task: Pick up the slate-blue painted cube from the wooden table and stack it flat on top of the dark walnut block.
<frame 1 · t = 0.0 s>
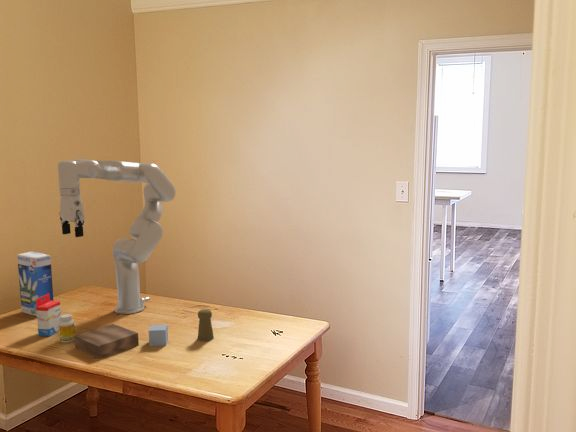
hand: (72, 235, 226), 37 cm above the table, tool pointing down, fingers open, 9 cm apart
supplement bottle: (67, 340, 214), on the table
walnut block: (107, 347, 208), on the table
ink box: (50, 333, 222), on the table
blue cube: (158, 343, 210), on the table
cork: (205, 338, 214), on the table
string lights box: (38, 312, 247), on the table
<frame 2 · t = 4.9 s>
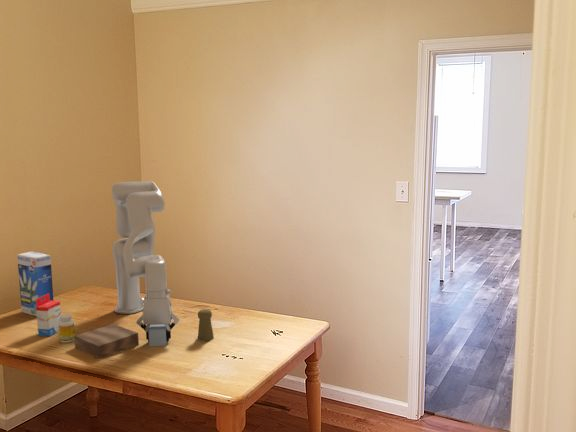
hand: (158, 340, 210), 1 cm above the table, tool pointing down, fingers closed on blue cube, 6 cm apart
blue cube: (158, 342, 210), on the table, touching gripper
everything else where it was.
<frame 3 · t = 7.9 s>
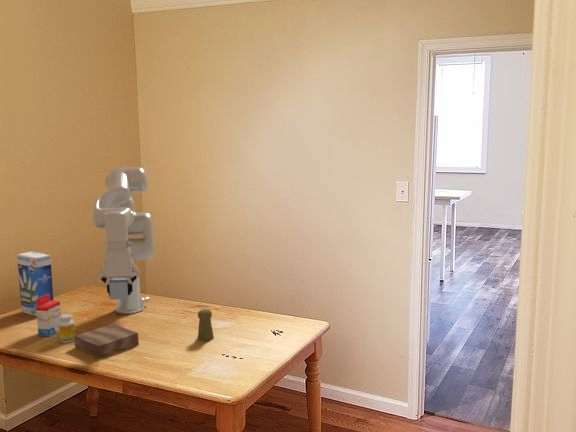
hand: (120, 293, 205), 19 cm above the table, tool pointing down, fingers closed on blue cube, 6 cm apart
blue cube: (120, 296, 206), point 18 cm above the table, touching gripper
everything else where it was.
when the fingers open (7 cm above the table, at t = 11.3 s): blue cube drops 1 cm, point 5 cm above the table.
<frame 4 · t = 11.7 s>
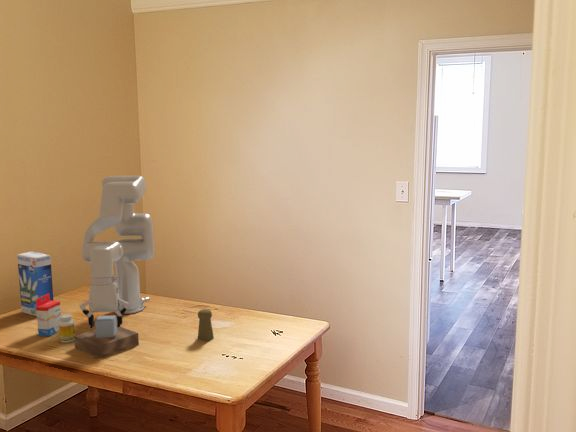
hand: (105, 326, 206), 8 cm above the table, tool pointing down, fingers open, 9 cm apart
blue cube: (106, 334, 207), point 5 cm above the table
everything else where it was.
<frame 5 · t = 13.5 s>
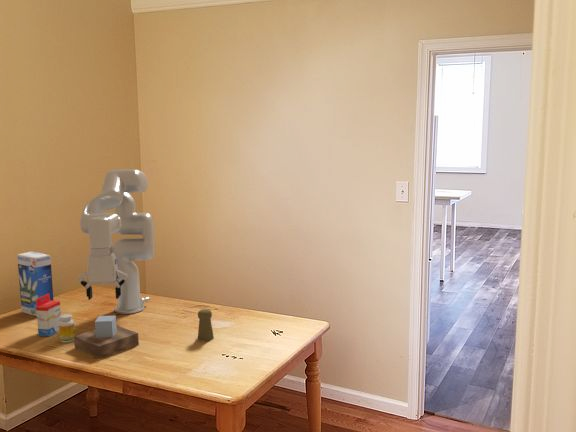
hand: (104, 298, 205), 18 cm above the table, tool pointing down, fingers open, 9 cm apart
nothing on the table moved.
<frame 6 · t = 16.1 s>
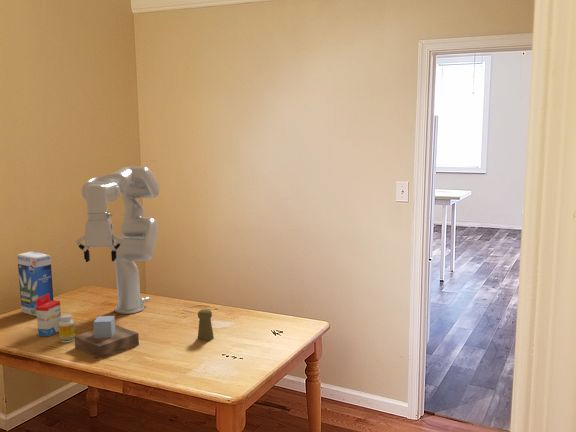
hand: (100, 260, 218), 28 cm above the table, tool pointing down, fingers open, 9 cm apart
walnut block: (107, 347, 207), on the table, touching blue cube
blue cube: (105, 334, 207), point 4 cm above the table, touching walnut block
everything else where it was.
at the end: blue cube inside the target area on the walnut block (0.5 cm from its centre), point 5.1 cm above the walnut block's base; blue cube tilted 1°; the gripper is holding nothing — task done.
